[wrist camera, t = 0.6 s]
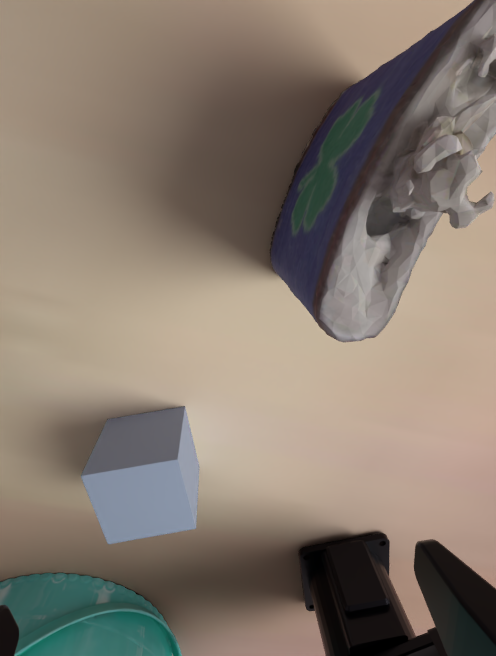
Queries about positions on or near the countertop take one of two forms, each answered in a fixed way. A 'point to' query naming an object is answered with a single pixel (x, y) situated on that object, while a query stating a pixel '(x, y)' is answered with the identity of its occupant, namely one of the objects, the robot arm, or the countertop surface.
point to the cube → (144, 476)
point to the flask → (389, 175)
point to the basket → (84, 618)
